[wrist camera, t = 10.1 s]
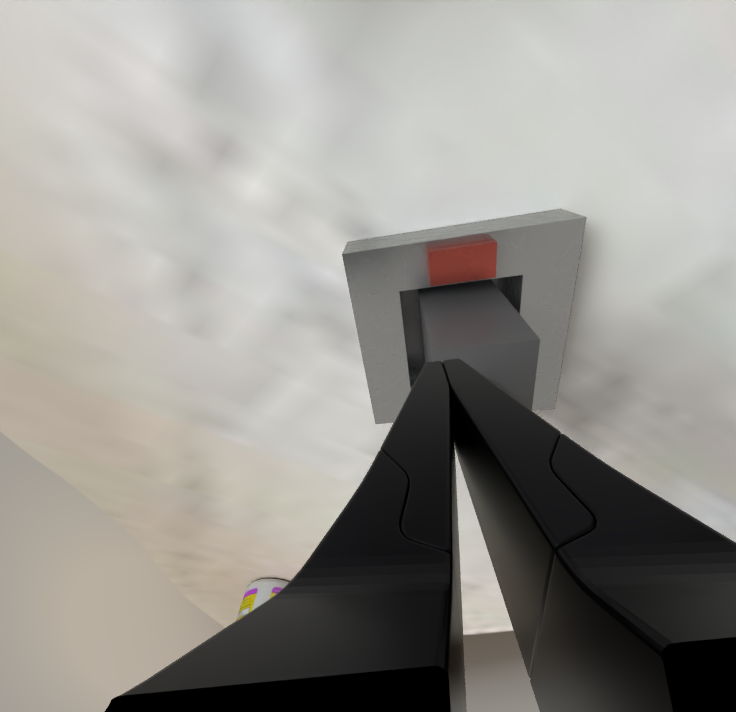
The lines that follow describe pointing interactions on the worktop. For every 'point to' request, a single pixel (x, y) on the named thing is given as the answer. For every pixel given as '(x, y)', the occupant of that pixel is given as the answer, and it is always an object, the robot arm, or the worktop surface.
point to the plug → (480, 335)
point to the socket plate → (460, 265)
